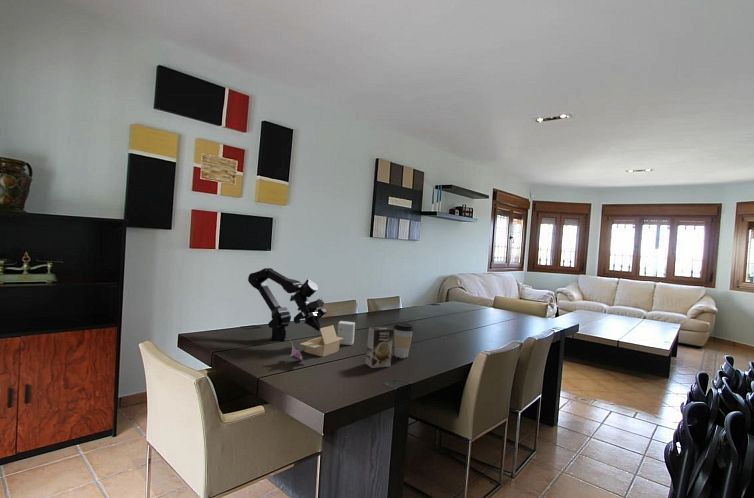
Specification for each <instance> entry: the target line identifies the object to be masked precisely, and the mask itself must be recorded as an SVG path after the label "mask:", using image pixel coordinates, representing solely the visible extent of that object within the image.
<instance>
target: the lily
mask: <svg viewBox="0 0 754 498" xmlns="http://www.w3.org/2000/svg"><path fill="white" fill-rule="evenodd" d="M289 341H290V342H291V354H290V356H289V357H288V358H287V360H286V361H285V363H284V364H285V365H286V364H287V362H288V361H289V359H290V358H291V357H294V358H298V359H299V360H300V361H301V362H302V363H304V361H303V356H302V353H301V350H299V349H298V350H297V349H296V348H295V346H294V344H293V341H292V340H291V339H289Z"/></svg>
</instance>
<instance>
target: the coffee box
mask: <svg viewBox="0 0 754 498" xmlns="http://www.w3.org/2000/svg"><path fill="white" fill-rule="evenodd" d="M394 332H395V329H394V328H392V327H388V326H369V327H368V335H367V344H366V345H367V346H366V353H365V355H366V357H365V365H367V366H368V367H370V368H371V369H375V368H376V369H377V368H388V367H389V368H390V367H391V363H392V362H391V361H392V352H393V350H392V349H393V341H394V339H393V338H394Z"/></svg>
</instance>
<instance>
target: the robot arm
mask: <svg viewBox="0 0 754 498" xmlns="http://www.w3.org/2000/svg"><path fill="white" fill-rule="evenodd" d="M268 280H272V281H273V282H275V283H277V284H278V285H279V286H281V287H282V289H283V290H284V291H285V292H286V293H287V294H293V295H290V299H289V301H290V302H295V304H296V306H297V307H298V308H297V311H299V312H298V313H297V314H296V315H295V316H294V317H293V322H294V324H295V325H298V324H300V323H301V321H302V320H304V322H303V324H305V325H307V326H310V327H311V328H313V329H314V330H315V331H318V332H321V331H320V328H322V327H321V323H320V319H321V318H322V317H324V315H326V314H327V313H328V310H327V309H326V308H324V304H325V301H324V300H323V298H318V299H316V300H314V301H312V300H309V298H311V297H312V296H313V295H314V294H315V293H316V292H317V291H318V290H319V286H318V284H317V283H316V282H314V281H312V280H311V279H309V278H308V279H306V280H305V282H304V283H302V282H301V281H300V280H298V279H297V280H296V279H292V278H289V277H287V276H284V275H283V274H281V273H279V272H278V271H276V270H274V269H273V268H272V267H267V268H262V269H260V270H258V271H255V272H251V273H250V274H248V277H247V281H248V283H249V284H250V286H251V287H252V288H253V289H256V290H257V291H258V292H259V294H260V295H261V297H262V299H263V300H264V302H265V304H266V305H267V308H268V309H269V310H270V312H271V320H270V321H269V322H268V328H270V329H271V333H270V341H272V342H277V341H278V342H279V341H280V342H284V341H286V337H287V330H286V327H287V328H288V327H289V324H290V322H291V318H292V316H291V312H290V311H289V310H288V308H287V307H282V306H281V305H280V303H279V302H278V300H277V299H276V297H275V296H274V294H273V292H272V291H271V289H270V287H269V286H268V285H267V284H268Z"/></svg>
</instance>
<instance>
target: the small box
mask: <svg viewBox="0 0 754 498" xmlns="http://www.w3.org/2000/svg"><path fill="white" fill-rule="evenodd" d="M355 329H356V322H355V321H346V320H345V321H344V320H340V321H339V322H338V323H337V332H336V335H337V337H341V338H344V339H342V340H338V341H340V345H345V346H353V344H354V343H355V332H356V331H355Z"/></svg>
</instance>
